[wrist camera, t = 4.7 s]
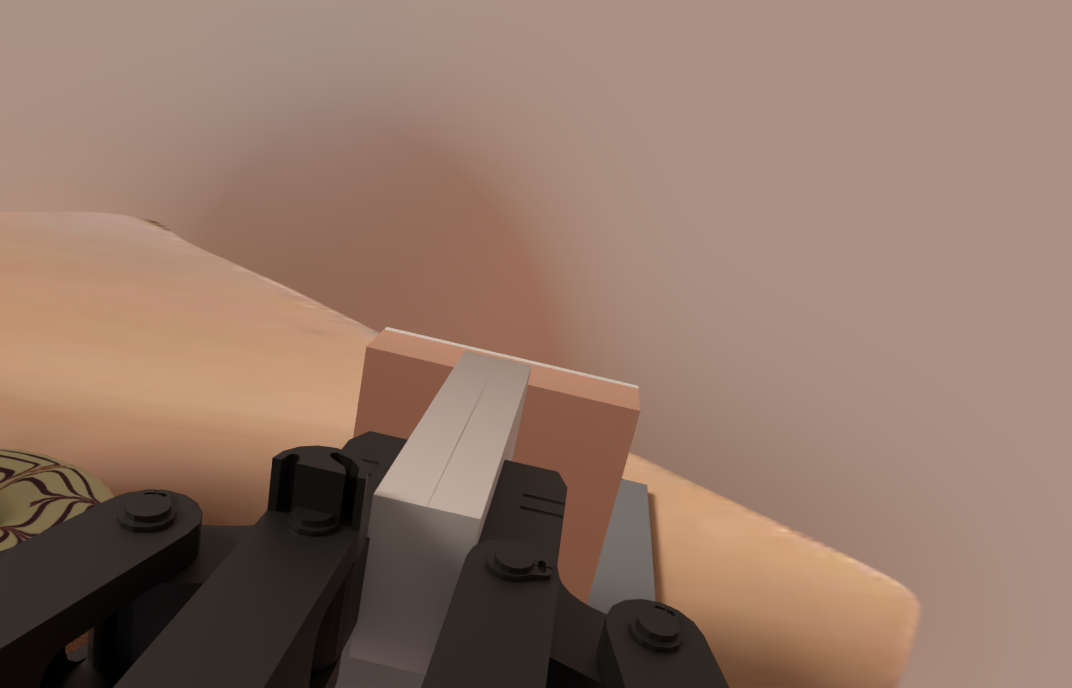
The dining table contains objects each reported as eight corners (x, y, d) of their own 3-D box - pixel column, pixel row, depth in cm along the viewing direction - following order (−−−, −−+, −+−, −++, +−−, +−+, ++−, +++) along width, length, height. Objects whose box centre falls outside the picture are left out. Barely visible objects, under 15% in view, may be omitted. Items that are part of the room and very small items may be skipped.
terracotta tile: (326, 618, 31) (366, 346, 27) (347, 582, 33) (386, 327, 30) (566, 678, 31) (640, 410, 27) (570, 636, 33) (638, 385, 29)
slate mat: (149, 714, 26) (150, 700, 26) (369, 427, 49) (370, 419, 48) (668, 845, 25) (672, 832, 25) (644, 493, 48) (647, 485, 48)
